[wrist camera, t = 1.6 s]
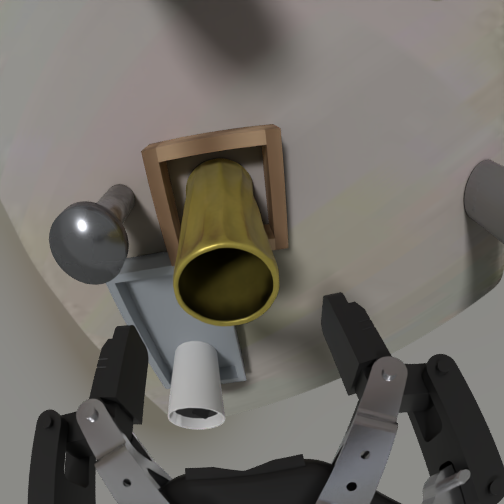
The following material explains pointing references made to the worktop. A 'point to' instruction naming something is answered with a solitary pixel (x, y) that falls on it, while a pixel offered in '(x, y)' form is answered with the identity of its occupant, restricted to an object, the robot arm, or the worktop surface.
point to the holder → (213, 142)
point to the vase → (223, 248)
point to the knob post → (93, 236)
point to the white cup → (196, 387)
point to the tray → (169, 318)
